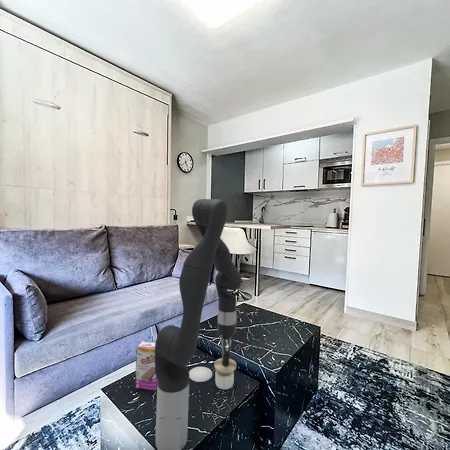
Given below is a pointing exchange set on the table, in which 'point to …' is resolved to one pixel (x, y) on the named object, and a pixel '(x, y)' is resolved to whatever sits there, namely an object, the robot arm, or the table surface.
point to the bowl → (224, 379)
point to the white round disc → (200, 374)
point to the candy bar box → (145, 367)
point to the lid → (225, 369)
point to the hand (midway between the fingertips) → (225, 362)
